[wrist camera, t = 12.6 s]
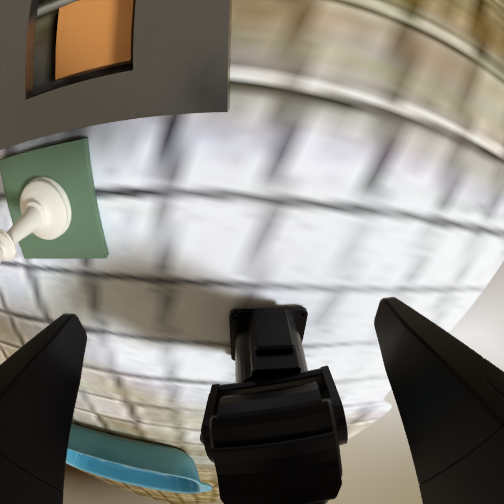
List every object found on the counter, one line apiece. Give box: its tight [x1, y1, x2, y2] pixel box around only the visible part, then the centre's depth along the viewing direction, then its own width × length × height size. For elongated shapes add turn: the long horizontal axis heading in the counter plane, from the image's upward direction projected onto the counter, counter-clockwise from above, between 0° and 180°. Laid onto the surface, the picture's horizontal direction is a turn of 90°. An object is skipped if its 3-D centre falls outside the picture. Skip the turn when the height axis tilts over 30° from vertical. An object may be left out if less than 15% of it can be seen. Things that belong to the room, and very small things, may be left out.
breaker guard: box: [0, 0, 232, 150], centre depth 10 cm, size 12×16×4 cm
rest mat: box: [0, 138, 109, 258], centre depth 17 cm, size 9×9×1 cm
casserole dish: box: [66, 424, 212, 494], centre depth 41 cm, size 37×22×7 cm, turn 82°
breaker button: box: [55, 0, 136, 80], centre depth 11 cm, size 5×5×1 cm
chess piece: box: [0, 177, 71, 263], centre depth 13 cm, size 5×5×10 cm
